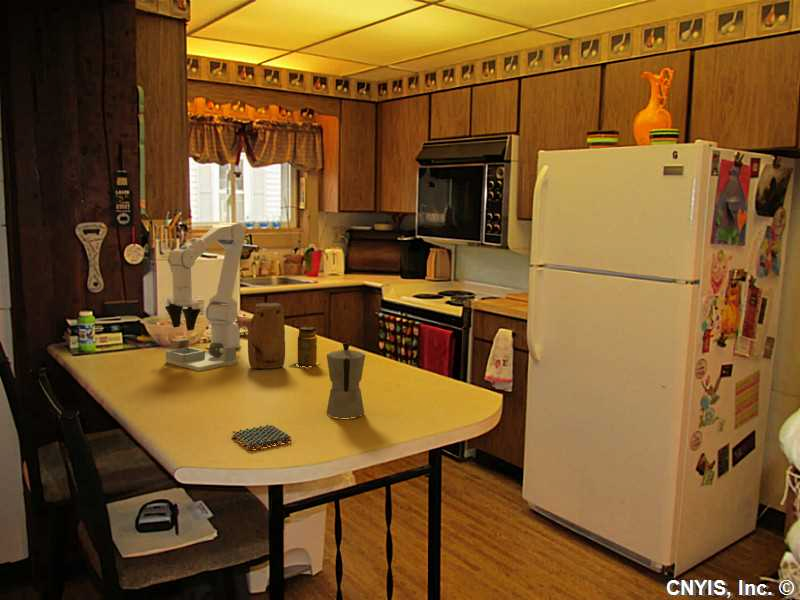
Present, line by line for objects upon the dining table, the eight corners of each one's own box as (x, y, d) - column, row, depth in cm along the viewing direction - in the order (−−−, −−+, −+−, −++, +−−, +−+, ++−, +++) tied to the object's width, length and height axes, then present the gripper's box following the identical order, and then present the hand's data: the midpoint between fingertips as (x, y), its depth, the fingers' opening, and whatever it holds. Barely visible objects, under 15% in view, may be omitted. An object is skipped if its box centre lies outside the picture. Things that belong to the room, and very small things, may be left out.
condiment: (321, 363, 220) (322, 327, 218) (308, 369, 212) (308, 331, 210) (302, 361, 223) (302, 325, 221) (288, 366, 215) (288, 329, 213)
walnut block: (180, 355, 227) (180, 337, 226) (189, 357, 224) (188, 339, 224) (170, 357, 224) (169, 339, 223) (178, 359, 221) (178, 341, 220)
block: (279, 363, 219) (279, 301, 217) (286, 368, 213) (286, 304, 210) (246, 366, 215) (245, 303, 212) (252, 371, 208) (251, 306, 205)
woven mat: (249, 454, 142) (249, 445, 141) (229, 439, 150) (229, 431, 150) (294, 445, 148) (294, 436, 147) (273, 431, 156) (273, 423, 156)
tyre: (219, 354, 223) (219, 341, 222) (224, 355, 221) (224, 342, 221) (208, 356, 219) (208, 343, 219) (213, 357, 218) (212, 344, 217)
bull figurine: (241, 331, 270) (241, 311, 269) (258, 337, 260) (258, 316, 259) (231, 332, 267) (231, 312, 266) (247, 338, 257) (247, 317, 256)
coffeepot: (326, 406, 175) (326, 337, 172) (363, 406, 175) (364, 337, 173) (325, 425, 159) (326, 350, 157) (366, 425, 160) (367, 350, 158)
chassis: (205, 354, 229) (205, 338, 228) (238, 362, 219) (238, 346, 218) (166, 362, 217) (165, 345, 216) (199, 371, 207) (198, 353, 206)
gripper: (158, 285, 219) (159, 327, 221) (184, 290, 211) (186, 333, 213) (177, 283, 225) (178, 324, 227) (204, 288, 216) (205, 330, 218)
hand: (183, 328), depth 220 cm, fingers open, 7 cm apart
